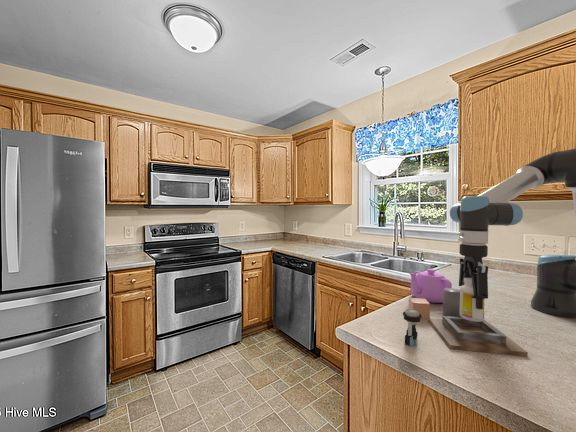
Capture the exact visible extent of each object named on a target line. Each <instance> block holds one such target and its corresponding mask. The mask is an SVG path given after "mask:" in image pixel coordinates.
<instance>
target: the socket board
mask: <svg viewBox="0 0 576 432" xmlns="http://www.w3.org/2000/svg"><path fill="white" fill-rule="evenodd" d="M428 323H429V324H430V325H431V326H432V328H433V329H434V330H435V331H436V332H437V334H438V336H439V337H440V338H441V339H442V340H443V341H444V343H445V344H446V346H448V348H449V349H450V350H458V351H467V352H479V353H487V354H488V353H489V354H500V355H508V356H509V355H510V356H519V357H520V356H521V357H528V355H529V354H528V353H529V352H528V351H527V350H526V349H525V348H523V347H522V346H520V345H519V344H517V342H515V341H513V340H512V339H511V338H510V337H508V336H507V335H506V334H505V333H503V331H501V330H500V329H498V328H497V327H496V326H494V325H493V324H492V323H490V322H488V321H487V320H486V319H484V320H483V321H481V322H475V321H469V320H466V319H464V318H462V317H451V316H443V315H442V318H434V317H433V318H432V317H430V318H429V319H428Z"/></svg>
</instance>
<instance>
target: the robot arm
mask: <svg viewBox="0 0 576 432" xmlns="http://www.w3.org/2000/svg"><path fill="white" fill-rule="evenodd" d="M553 183H564V184H565V185H564V186H565V189H567V190H569V191H571V192H572V201H573V207H574V208H573V209H574V214H575V217H576V148H570V149H566V150H560V151H554V152H550V153H548V154H545V155H543V156H540V157H539V158H536V159H535V160H532V161H531V162H529V163H527V164H525V165H523V166H522V167H521V168H519V169H518V170H517V171H516V173H515V174H513V175H511V176H509V177H508V178H506V179H504V180H503V181H500V183H498V184H496V185H494V186H492V187H491V188H489V189H487V190H485V191H484V192H482V193H481V194H479V195H476V196H473V195H472V196H463V197H462V198H461V199H460V200H461V201H460V203H456V204H454V205H452V206H451V207H450V210H449V217H450V219H451V220H452V221H453V222H455V223H459V233H458V236H459V242H460V244H459V251H458V252H459V255H461V256H463V258H459V274H458V275H459V277H458V286H459V287H461V286H463V285H464V278H472V284H473V291H474V296H472V318H474V319H483V299H484V300H485V299H486V300H487V299H489V285H488V284H489V282H488V279H489V278H488V272H489V266H488V265H484V263H483V258H487V257H488V256H489V255H488V249H489V247H488V245H487V244H488V243H489V226H504V227H505V226H506V227H509V226H516V225H517V224H519V223H520V222H521V221H522V220H523V217H524V214H523V213H524V212H523V209H522V207H521V206H520V205H519V204H517V203H512V202H510V201H513V200H514V199H516V198H517V197H518V196H521V195H522V194H524V193H526V192H527V191H529V190H530V189H537V188H540V187H542V186H543V185H546V184H553ZM536 269H537V270H536V289H535V292H534V293H533V295H532V299H531V300H530V307H531V308H532V309H534V310H536V311H538V312H541V313H545V314H548V315H552V316H558V317H564V318H576V255H574V254H573V255H571V254H542V255H540V256H538V258H537V264H536Z"/></svg>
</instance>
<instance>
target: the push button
mask: <svg viewBox="0 0 576 432" xmlns="http://www.w3.org/2000/svg"><path fill="white" fill-rule="evenodd" d="M402 316H403V320H405V321H406V322H407V323H408V324H407V326H408V327H407V329H406V333H405V336H404V345H407V346H410V347H413V346H414V345H418V336H419V334H418V332H417V328H416V324H418V323H420V322H421V320H422V319H421V318H422V315H421V314H419V312H418V311H416V310H413V309H409V308H408V309H406V310H405V311H403V312H402Z"/></svg>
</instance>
